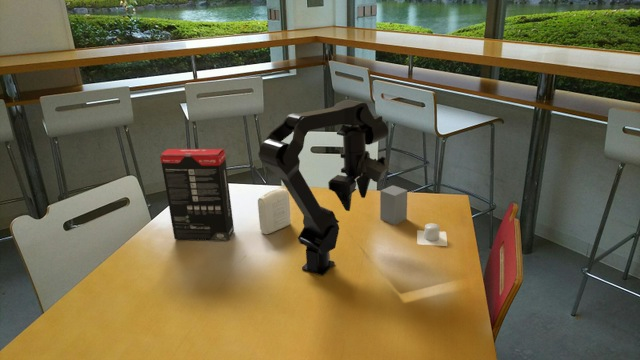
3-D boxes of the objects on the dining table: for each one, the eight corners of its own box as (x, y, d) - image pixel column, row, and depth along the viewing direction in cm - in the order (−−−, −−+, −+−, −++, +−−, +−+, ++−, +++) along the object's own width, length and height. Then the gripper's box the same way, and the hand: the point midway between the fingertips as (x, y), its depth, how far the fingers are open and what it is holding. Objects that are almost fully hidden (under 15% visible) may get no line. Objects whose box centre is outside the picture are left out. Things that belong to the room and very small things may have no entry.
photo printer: (284, 220, 151) (281, 184, 147) (293, 224, 148) (290, 187, 144) (258, 231, 145) (254, 194, 140) (267, 236, 142) (263, 198, 137)
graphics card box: (236, 231, 145) (225, 146, 135) (230, 242, 139) (218, 154, 129) (182, 231, 147) (167, 146, 137) (173, 242, 141) (157, 154, 131)
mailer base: (447, 250, 129) (448, 234, 128) (417, 249, 131) (417, 232, 129) (445, 236, 137) (446, 220, 135) (417, 235, 138) (417, 219, 136)
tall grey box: (394, 229, 142) (394, 195, 138) (380, 223, 146) (380, 190, 142) (406, 223, 145) (407, 190, 141) (392, 217, 149) (392, 185, 145)
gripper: (367, 164, 112) (367, 224, 118) (397, 142, 127) (396, 196, 133) (326, 158, 117) (328, 215, 123) (359, 137, 132) (360, 189, 138)
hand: (355, 203), depth 129 cm, fingers open, 9 cm apart
